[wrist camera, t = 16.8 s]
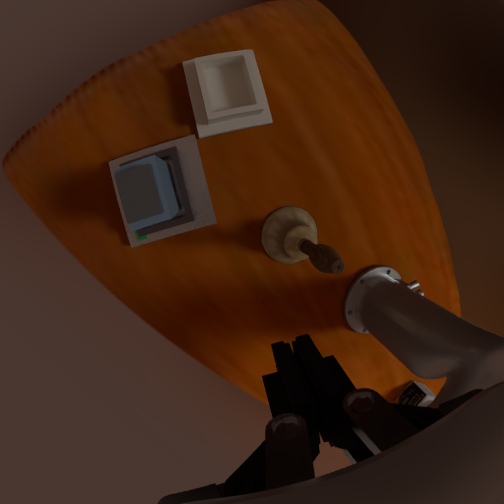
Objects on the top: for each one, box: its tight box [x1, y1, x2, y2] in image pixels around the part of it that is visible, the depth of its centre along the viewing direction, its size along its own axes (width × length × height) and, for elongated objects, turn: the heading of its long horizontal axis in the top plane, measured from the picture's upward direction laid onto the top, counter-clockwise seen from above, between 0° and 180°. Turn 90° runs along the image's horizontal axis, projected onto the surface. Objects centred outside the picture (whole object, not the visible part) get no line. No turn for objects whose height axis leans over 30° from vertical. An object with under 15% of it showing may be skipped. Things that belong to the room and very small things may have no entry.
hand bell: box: [261, 206, 344, 274], centre depth 31 cm, size 8×8×16 cm
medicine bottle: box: [395, 380, 436, 407], centre depth 49 cm, size 7×7×12 cm
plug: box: [114, 155, 182, 232], centre depth 27 cm, size 4×6×12 cm, turn 14°
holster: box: [182, 50, 273, 139], centre depth 31 cm, size 10×12×4 cm
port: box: [109, 134, 217, 248], centre depth 32 cm, size 12×12×5 cm
